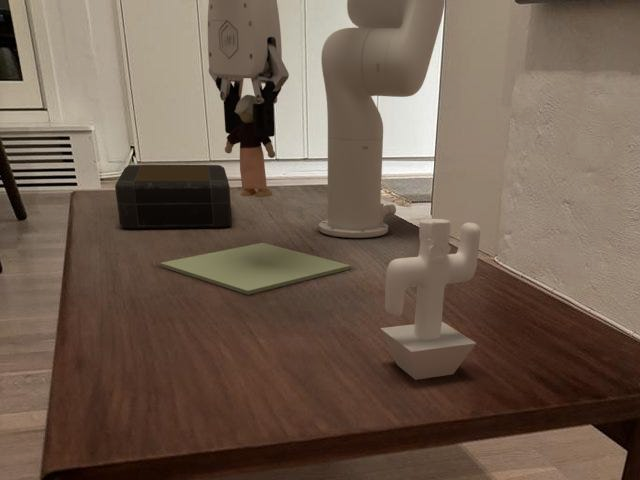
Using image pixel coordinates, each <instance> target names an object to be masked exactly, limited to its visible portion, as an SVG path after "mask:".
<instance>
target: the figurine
mask: <svg viewBox="0 0 640 480" xmlns="http://www.w3.org/2000/svg"><path fill="white" fill-rule="evenodd" d="M451 225H452V223H451V221H450V220H449V219H448V220H447V219H444V218H424V219H420V220H419V226H418V227H419V228H418V229H419V231H418V234H419V235H418V238H419V249H418V250H419V252H418V255H417V256H411V257H398V258H394V259H392V260H391V261H390V262H389V264H388V266H387V268H386V273H385V288H384V289H385V290H384V311H385V313H386V314H387V315H388V316H390V317H395V318H396V317H400V316H401V315H402V314H403V312H404V306H405V305H404V304H405V303H404V302H405V296H406V291H407V289H408V288H416V300H415V301H416V302H415V315H414V324H405V325H397V326H387V327H380V328H379V329H380V331H381V334H382V336H383V338H384V341H385V342H386V344H387V347H388V349H389V352H390V353H391V355H392V357H393V360H394V362H395V364H396V365H397V366H398V367H399V368H400V369H401V370H402V371H404V372H405V373H407V374H408V375H409V376H410V377H411V378H413V379H414V380H415V381H417V380H423V379H431V378H436V377H437V378H438V377H445V376H451V375H454V374H455V373H456V372H457V370H458V369H459V367H460V366H461V365H462V363H463V362H464V361H465V359H466V358H467V357H468V356H469V354H470V353H471V351H472V350H473V349H474V348H475V346H476V345H477V342H475V341H474V340H472V339H471V338H469V337H468V336H466V335H464V334H463V333H461V332H460V331H458V330H456V329H455V328H453V327H452V326H451V325H448V324H447V323H445V322H443V310H444V299H445V298H444V297H445V288H446V286H447V285H448V284H458V283H466V282H469V281H470V280H472V279H473V278H474V276H475V274H476V272H477V266H478V261H479V260H478V259H479V250H480V249H479V248H480V241H481V228H480V226H479V225H478V224H477V223H474V222H465V223H463V224H462V226H461V228H460V235H459V244H458V248H457V251H456V253H450V252H451V250H452V247H451V245H450V244H449V243H450V240H451V239H450V236H451Z"/></svg>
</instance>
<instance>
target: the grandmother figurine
mask: <svg viewBox="0 0 640 480" xmlns="http://www.w3.org/2000/svg"><path fill="white" fill-rule="evenodd" d="M253 104H258V103H257V102H256V98H255V95H252V94H245V95H243V96H241V99H240V100H239V102H238V104H237V106H236V110H235V111H234V112H236V113H237V114H238V115H239V116H240V118H241V120H242V121H243V122H244V124H242V125H239V126H237V127H236V128H234V129H233V130H232V131H231V133H230V134H229V133H228V135H227V136H226V142H225V143H226V144H225V147H224V152H225V153H226V154H231V153H232V152H233V148H234V146H235V145H237V144H239V171H240V172H239V173H240V180H241V188H242V191H241V193H240V196H241V197H252V196H254V197H256V198H266V197H272V196H273V195H274V194H273V192H272V191H271V190H270V189H269V188H268V187H267V185H268V184H267V176H266V165H265V158H264V157H265V154H264V151H263V147H264V148H265V151H266V152H267V156H268V158H270V159H274V158H275V156H276V152H275V150H274V145H273V141H272V139H271V137H260V138H259V137H255V135H254V122H253ZM262 146H263V147H262ZM255 189H256V190H255Z"/></svg>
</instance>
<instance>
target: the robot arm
mask: <svg viewBox="0 0 640 480" xmlns="http://www.w3.org/2000/svg"><path fill="white" fill-rule="evenodd" d="M346 1H347V2H346V9H347V15H348V18H349V20H350V21H351V23H352V24H353V25H354V26H355V27H344V28H341V29H338V30H336V31H334V32H332V33H331V34H330V35H329V36H328V37H326V40H325V41H324V43H323V46H322V50H321V71H322V77H323V83H324V89H325V97H326V111H327V219H325V220H323V221H321V222H319V223H318V231H319V232H320V233H322V234H323V235H326V236H331V237H338V238H347V239H366V238H367V239H369V238H375V237H382V236H384V235H386V234H388V233H389V225H388V224H387V223H386V222H384V219H385V217H390V216H394V215H395V214H396V212H397V208H396V205H395V204H386V205H384V203H382V202H381V200H382V174H383V149H384V148H383V147H384V122H383V119H382V116H381V113H380V110H379V108H378V107H377V104H376V103H375V101H374V99H373V97H392V98H393V97H395V98H406V97H412V96H414V95H416V94H417V93H418V92H419V91H420V90H421V89H422V87H423V85H424V82H425V79H426V77H427V73H428V70H429V67H430V63H431V59H432V56H433V54H434V53H433V52H434V49H435V45H436V41H437V38H438V34H439V31H440V27H441V24H442V19H443V14H444V10H445V1H446V0H346ZM207 7H208V8H207V56H208V58H207V59H208V66H209V67H208V73H209V75H210V76H211V78H212V80H213V81H214V83H215V86H216V88H217V89H218V91H219V97H220V100H221V101H222V102H223V115H224V131H225V133H226V134H228V135H229V134H230V133H231V131H232V130H233V129H234V128H236V127H237V126H239V125H242V124H244V122H243V121H242V120H241V118H240V116H239V115H238V114H237V113H236V112H234V111H235V110H236V106H237V104H238V102H239V100H240V99H241V98H242V94H243V88H244V87H243V85H244V80H245V79H250V81H251V85H252V89H253V93H254V96H255V98H256V102H257V103H258V104H253V122H254V135H255V137H259V138H260V137H269V138H272V137H275V134H276V128H275V127H276V126H275V104H277V103H278V96H279V94H280V92H281V91H282V87H283V86H284V85H285V83H286V82H287V81H288V79H289V77H290V73H289V71H288V69H287V67H286V65H285V63H284V62H283V54H282V53H283V51H282V50H283V49H282V48H283V47H282V33H281V21H280V13H279V5H278V0H208V6H207ZM262 84H264V87H263V85H262Z"/></svg>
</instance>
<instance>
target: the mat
mask: <svg viewBox="0 0 640 480" xmlns="http://www.w3.org/2000/svg"><path fill="white" fill-rule="evenodd" d="M160 267H161V268H164V269H166V270H169V271H173V272H176V273H178V274H179V273H180V274H181V275H185V276H188V277H192V278H195V279H197V280H200V281H204V282H207V283H210V284H212V285H216V286H220V287H222V288H225V289H229V290H231V291H233V292H234V291H235V292H237V293H241V294H243V295H247V296H249V295H254V294H257V293H262V292H266V291H269V290H274V289H277V288H278V289H279V288H281V287H285V286H289V285H292V284H297V283H301V282H306V281H308V280H309V281H310V280H313V279H317V278H321V277H324V276H325V277H326V276H329V275H332V274H336V273H341V272H345V271H349V270H351V265H350V264H347V263H343V262H339V261H335V260H332V259H327V258H324V257H320V256H316V255H312V254H308V253H303V252H300V251H296V250H292V249H289V248H285V247H281V246H276V245H274V244H269V243H265V242H259V243H255V244H249V245H244V246H238V247H234V248H229V249H224V250H220V251H214V252H209V253H203V254H198V255H193V256H188V257H182V258H178V259H173V260H168V261H163V262H160Z"/></svg>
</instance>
